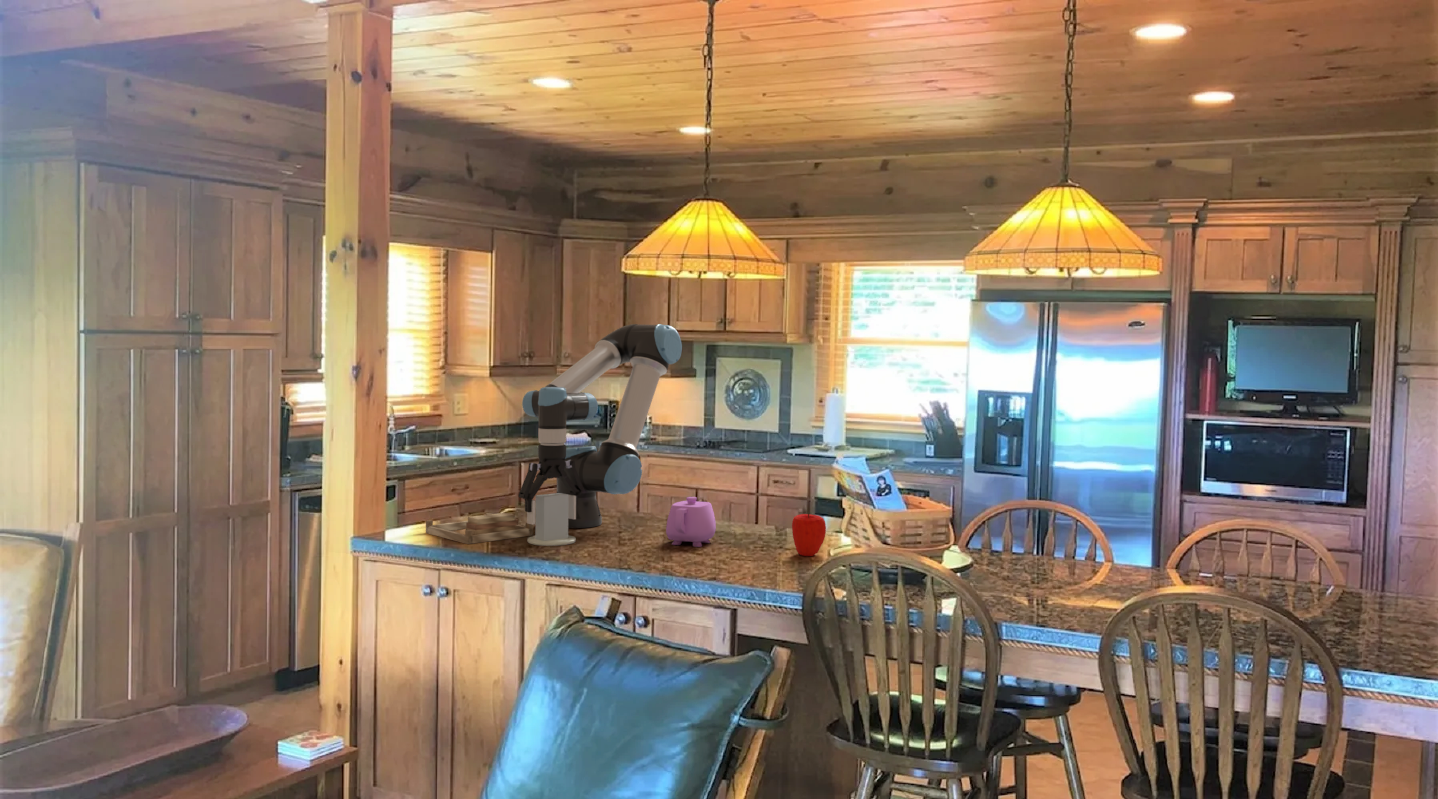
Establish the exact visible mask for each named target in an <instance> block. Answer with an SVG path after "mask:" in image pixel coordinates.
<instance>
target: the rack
mask: <svg viewBox="0 0 1438 799" xmlns="http://www.w3.org/2000/svg"><path fill="white" fill-rule="evenodd" d="M489 514H492V513H490V512H487V513H485V514H484V515H489ZM466 523H468V520H464V521H456V522H447V523H438V524H434V520H429V519H428V520H425V534H429V535H433V536H435V537H436V536H437V537H439V538H443V539H447V540H451V541H456V542H459V543H462V544H467V545H472V544H479V543H484V542H485V543H487V542H493V541H501V540H508V539H516V538H522V537H523V538H524V537H531V536H534V525H532V524H528V523H527V522H525V526H524V525H520V524H518V525H516V530H510V531H502V532H494V533H487V534H479V535H472V530H466ZM457 530H464V534H463V533H460V532H456V531H457Z"/></svg>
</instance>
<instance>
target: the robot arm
mask: <svg viewBox="0 0 1438 799" xmlns="http://www.w3.org/2000/svg"><path fill="white" fill-rule="evenodd" d="M682 350H683V344H682V340H681V336H680V333H679V332H678V331H677V329H676V328H674V327H673V326H671V325H669V324H661V323H658V324H636V323H633V324H632V323H631V324H627V325H624V326H621V327H619V328H617V329H615V330H613V331H612V332H609V333H608V334H607V335H605V336H604V337H602V338H601V339H600V340H599V341H597V342H596V343H595V345H594V349H592V350H591V351H590V352H589V353H587V354H585V355H584V356H583V357H582V358H581V359H579V360H578V361H577V362H575V363H574V364H573V365H571V366H570V367H569V368H567V369H566V370H565V371H564V372H562V373H561V374H560V375H559V376H557V377H555V379H553V380H552V381H551V382H550V383H547V385H545V387H541V388H540V389H539V390H535V389H534V390H529V391H528V392H526V393H524V396H523V398H522V402H521V403H522V404H521V407H522V408H523V412H524V414H526V415H527V416H529V417H534V418H538V443H540V444H538V447H537V455H538V456H537V457H538V463H537V462H536V463H535V462H529V464H528V469H527V473H526V475H525V479H523V482H522V486H521V487H520V490H519V493H518V498H520V499H522V500H524V511H525V512H526V523H528V524H532V525H533V526H534V525H536V499H534V498H535V497H536V495H537V493H538V492H539V491H540V489H541V487H542V486H543V484H544V483H545V481H547V480H548V479H554V478H555V479H556V493H563V494H568V529H581V528H583V529H585V528H593V527H598V526H601V525H602V522H603V521H602V520H603V518H602V517H603V516H602V514H601V510H600V507H599V503H598V500H597V492H598V493H606V494H611V495H627V494H629V493H631V492H632V491H633V490H635V488H637V486H638V485H639V483H640V481H641V478H642V475H643V469H642V464H643V463H642V462H641V460H640V458H639V457H640V453H639V450H638V449H637V447H638V444H639V441H640V438H641V435H642V433H643V429H644V426H645V423H646V420H647V417H648V414H649V411H650V408H651V404H652V401H653V398H654V396H655V392H656V390H657V387H658V384H659V380H660V377H662V376H664V375H666V374H667V373H668V370H669V366H670V365H674V364H675V363H677V362H679V360H680V359H681V356H682ZM626 363H630V364H631V366H632V369H631V373H630V375H629V376H628V377H629V378H628V380H627V383H626V387H625V390H624V393H623V394H622V395H623V396H622V398H621V401H620V404H619V408H618V409H617V413H616V415H615V419H614V420H613V421H614V422H613V425H612V428H611V431H610V433H609V436H608V439H606V440H604V441H602V442H601V444H600V447H599V449H597V447H596V446H595V445H589V446H578V447H567V445H566V444H565V443H566V442H567V422H568V421H585V420H590V419H592V418H594V417H595V416H596V414H597V413H598V410H599V409H598V401H597V398H596V397H595V396H594V394H592V393H590V392H582V391H584V390H585V389H586V388H587V387H588V386H589V385H591V384H592V383H594V382H595V381H596V380H597V379H598V378H600V377H601V376H602V375H603V374H605V373H606V372H607V371H609V370H610V369H616V368H618V367H620V365H623V364H626Z"/></svg>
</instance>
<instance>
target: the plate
mask: <svg viewBox="0 0 1438 799" xmlns="http://www.w3.org/2000/svg"><path fill="white" fill-rule="evenodd" d="M535 537H536V535H531V536H528V537H527V543H528V544H530V545H535V546H542V547H546V546H547V547H554V546H555V547H556V546H566V545H573V544H574V543H575V542H576V538H577V537H575V536H573V535H569V534H568V538H563V539H556V540H549V541H541V540H537V539H535Z"/></svg>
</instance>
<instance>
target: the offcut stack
mask: <svg viewBox="0 0 1438 799" xmlns="http://www.w3.org/2000/svg"><path fill="white" fill-rule="evenodd" d="M467 521H468V523H466V529H465V530H472V535H479V534H487V533H494V532H502V531H510V530H516V525H519V519H518V518H516V517H515V514H512V513H509V512H500V513H491V514H489V515H485V514H484V515H483V514H482V515H475V516H474V515H472V516H468V517H467Z"/></svg>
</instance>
